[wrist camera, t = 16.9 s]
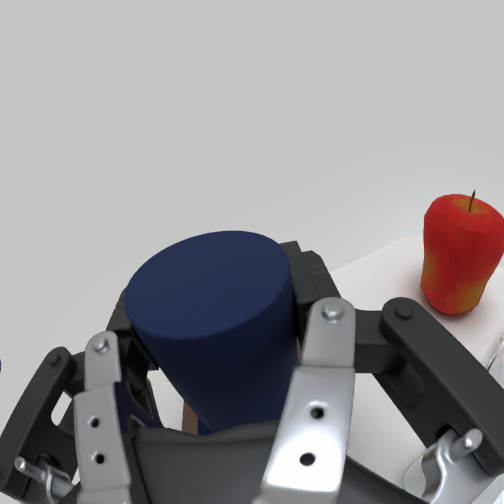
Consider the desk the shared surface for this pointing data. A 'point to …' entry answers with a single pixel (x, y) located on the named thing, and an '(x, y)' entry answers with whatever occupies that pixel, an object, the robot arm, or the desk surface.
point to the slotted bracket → (492, 498)
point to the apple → (460, 251)
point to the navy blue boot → (220, 325)
